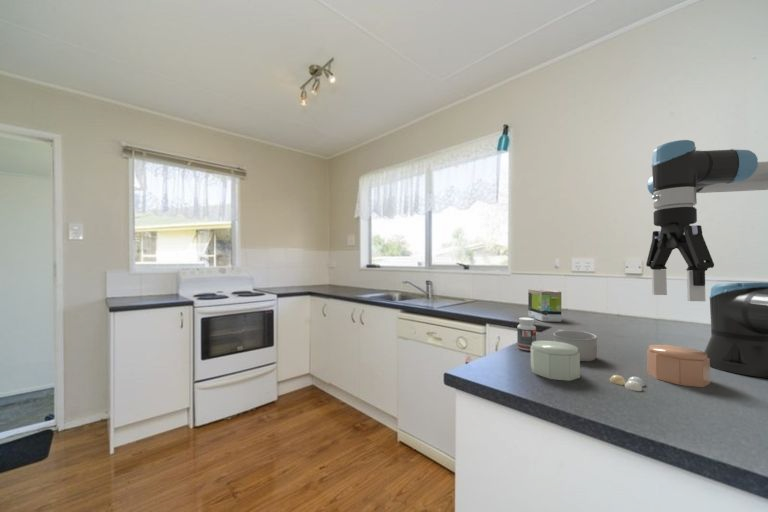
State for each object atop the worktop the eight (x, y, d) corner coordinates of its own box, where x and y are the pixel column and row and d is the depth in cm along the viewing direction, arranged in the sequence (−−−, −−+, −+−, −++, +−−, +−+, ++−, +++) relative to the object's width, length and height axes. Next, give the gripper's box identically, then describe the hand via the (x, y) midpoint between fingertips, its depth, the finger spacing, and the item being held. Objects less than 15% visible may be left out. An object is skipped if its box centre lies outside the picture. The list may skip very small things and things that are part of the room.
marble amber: (622, 386, 71) (622, 373, 71) (628, 392, 68) (628, 378, 68) (607, 385, 72) (607, 372, 72) (613, 390, 69) (612, 377, 69)
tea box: (562, 321, 150) (562, 291, 150) (541, 321, 150) (541, 291, 151) (546, 316, 165) (546, 288, 165) (527, 316, 165) (527, 288, 166)
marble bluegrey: (640, 388, 70) (640, 375, 70) (647, 393, 67) (647, 380, 68) (624, 387, 71) (624, 373, 71) (631, 392, 68) (631, 378, 68)
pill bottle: (537, 351, 99) (536, 320, 99) (517, 350, 101) (517, 319, 102) (535, 347, 105) (535, 317, 105) (517, 345, 107) (517, 316, 107)
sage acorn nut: (570, 373, 80) (570, 342, 80) (584, 388, 70) (584, 353, 70) (528, 369, 83) (528, 339, 83) (536, 383, 73) (535, 349, 73)
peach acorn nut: (689, 378, 76) (688, 346, 77) (720, 395, 67) (719, 357, 67) (640, 374, 79) (640, 343, 79) (664, 390, 70) (663, 354, 70)
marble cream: (638, 393, 68) (637, 379, 68) (645, 398, 65) (645, 384, 65) (622, 391, 69) (622, 377, 69) (628, 397, 66) (628, 382, 66)
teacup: (605, 369, 83) (604, 339, 84) (560, 366, 86) (560, 337, 86) (582, 354, 97) (582, 328, 97) (545, 352, 99) (545, 326, 99)
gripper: (629, 216, 87) (631, 292, 86) (690, 198, 63) (693, 303, 62) (662, 215, 85) (664, 293, 84) (737, 196, 61) (740, 305, 60)
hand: (676, 297), depth 73 cm, fingers open, 13 cm apart
